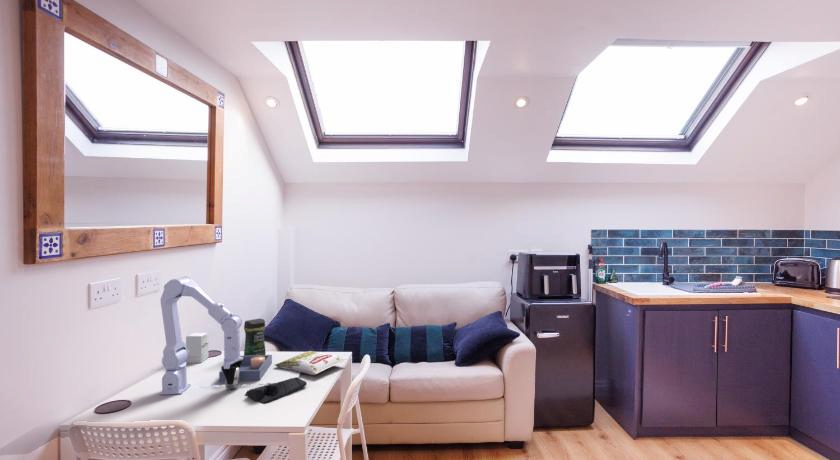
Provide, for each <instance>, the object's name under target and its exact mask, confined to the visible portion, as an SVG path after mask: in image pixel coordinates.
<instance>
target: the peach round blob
mask: <svg viewBox="0 0 840 460" xmlns="http://www.w3.org/2000/svg"><path fill="white" fill-rule="evenodd" d="M264 361H265V357H262V356H259V357H253V358H251V369H254V370H257V369H259V368H260V367H261V365H262V364H263V363H264Z"/></svg>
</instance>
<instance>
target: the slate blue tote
mask: <svg viewBox="0 0 840 460" xmlns="http://www.w3.org/2000/svg"><path fill="white" fill-rule="evenodd" d="M259 356H262V357H265V361H264V363H263V364H262V365H261V367H260V368H259V369H257V370H254V369H251V358H253V357H259ZM240 357H243V362H242V364H241V366H240V369H239V382H249V381H251V382H252V381H253V382H254V381H261V380H262V379H263V377H264V376H265V374H266V373H267V371H268V370H269V369H270V367H271V366H272V364H273V355H272V354H266V355H251V356H244V355H240ZM218 377H219V380H218V381H219V383H224V382H225V383H226V378H225V375H224V373H223V371H222V370H221V369H220V370H219V372H218Z"/></svg>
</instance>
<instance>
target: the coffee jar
mask: <svg viewBox="0 0 840 460" xmlns="http://www.w3.org/2000/svg"><path fill="white" fill-rule="evenodd" d="M243 330H244V333H245V337H244V339H245V341H244V348H243V349H244V351H243V356H251V355H267V354H266V345H265V344H266V342H265V330H266V322H265V319H263V318H254V319H249V320H245V321H244V325H243Z"/></svg>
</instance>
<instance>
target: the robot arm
mask: <svg viewBox="0 0 840 460" xmlns="http://www.w3.org/2000/svg"><path fill="white" fill-rule="evenodd" d="M182 297H191V298H193V299H194V300H195V301H197V302H198V303H199V304H200V305H202V306H203V307H204V308H206V309H207V314H208V315H209V316H210V317H211V318H213V319H214V321H216V322H217V323H218V324H219V325H220V327H221V330H222V332H223V333H224V334H223V336H224V337H223V348H224V350H223V351H224V352H223V353H224V355H223V356H224V357H223V365H222V366H221V368H220V371H221V370H222V371H223V373H224V375H225V378H226V381H227V384H233V382H234V376H235V371H236V369H237V367H239V369H240V366H241V364H242V362H243V357H240V356H241V336H240V335H241V334H240V333H241V331H240V328H241V327H242V324H243V322H242V321H243V320H242V318H241V317H240V315H238V314H234V312H232V311H230V310H228V308H226V307H225V306H226V305H225V304H224V303H220V302H215V301H214V300H213V299H211V297H210V296H209V295H208V294H206V292H205V291H203V289H202V288H201V287H200V286H199V285H198V283H197V282H196V281H195V280H193V279H192V278H191V277H189V276H182V277H179V278H173V279H170V280H169V281H167V282H166V283H165V284H164V285H163V291H162V294H161V296H160V306H161V307H160V308H161V314H162V320H163V321H162V322H163V329H164V336H165V347H164V349H163V351H162V353H163V354H162V355H163V356H162V359H161V364H162V366H163V368H165V370H164V371H165V373H164V374H163V375H162V377H161V378H162V379H161V388H162V389H161V392H160V393H159V395H163V396H164V395H182V394H183V393H184V392H185V391H186V390H187V389H188V388H189V387H190V386H191V385H192V384H191V383H187V382H188V381H187V379H188V377H187V363H186V361H187V360H188V358H189V351H188V350H187V348H186V342H184V341H183V340H182V331H181V325H180V318H179V317H180V316H179V310H178V303H177V302H178V301H179V300H180V299H181V298H182Z"/></svg>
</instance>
